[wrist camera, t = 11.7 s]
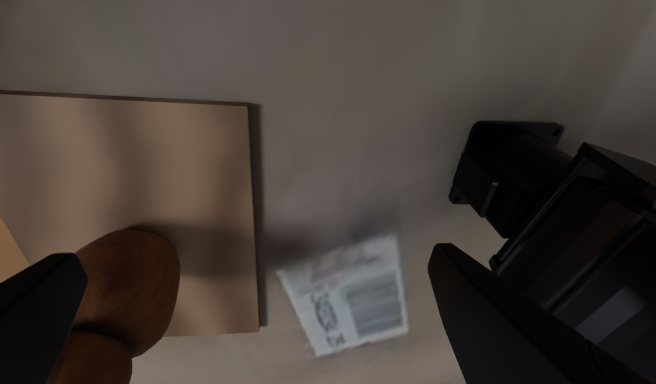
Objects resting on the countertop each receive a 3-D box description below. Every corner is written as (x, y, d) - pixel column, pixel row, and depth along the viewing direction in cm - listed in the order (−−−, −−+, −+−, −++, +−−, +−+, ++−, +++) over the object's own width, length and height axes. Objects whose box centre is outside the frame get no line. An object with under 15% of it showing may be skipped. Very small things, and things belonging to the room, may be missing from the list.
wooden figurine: (91, 267, 24) (-126, 584, 11) (90, 207, 21) (-205, 541, 8) (187, 281, 25) (91, 566, 13) (197, 228, 23) (87, 527, 10)
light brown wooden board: (249, 98, 20) (247, 106, 18) (260, 318, 31) (259, 332, 30) (-50, 82, 17) (-76, 90, 16) (84, 325, 29) (75, 340, 28)
